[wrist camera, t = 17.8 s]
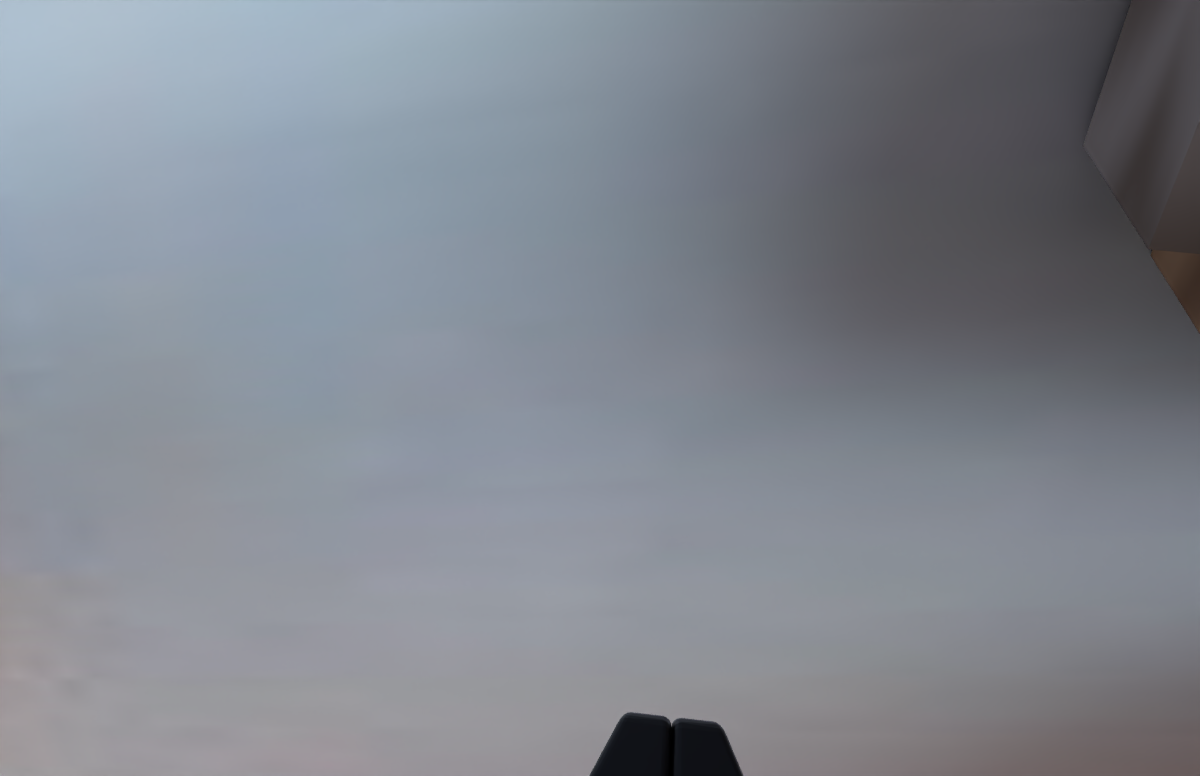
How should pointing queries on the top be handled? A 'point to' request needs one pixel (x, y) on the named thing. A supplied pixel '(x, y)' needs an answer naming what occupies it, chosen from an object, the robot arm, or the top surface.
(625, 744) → the robot arm
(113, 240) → the top surface
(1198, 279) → the open wooden box
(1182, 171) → the shelf board
